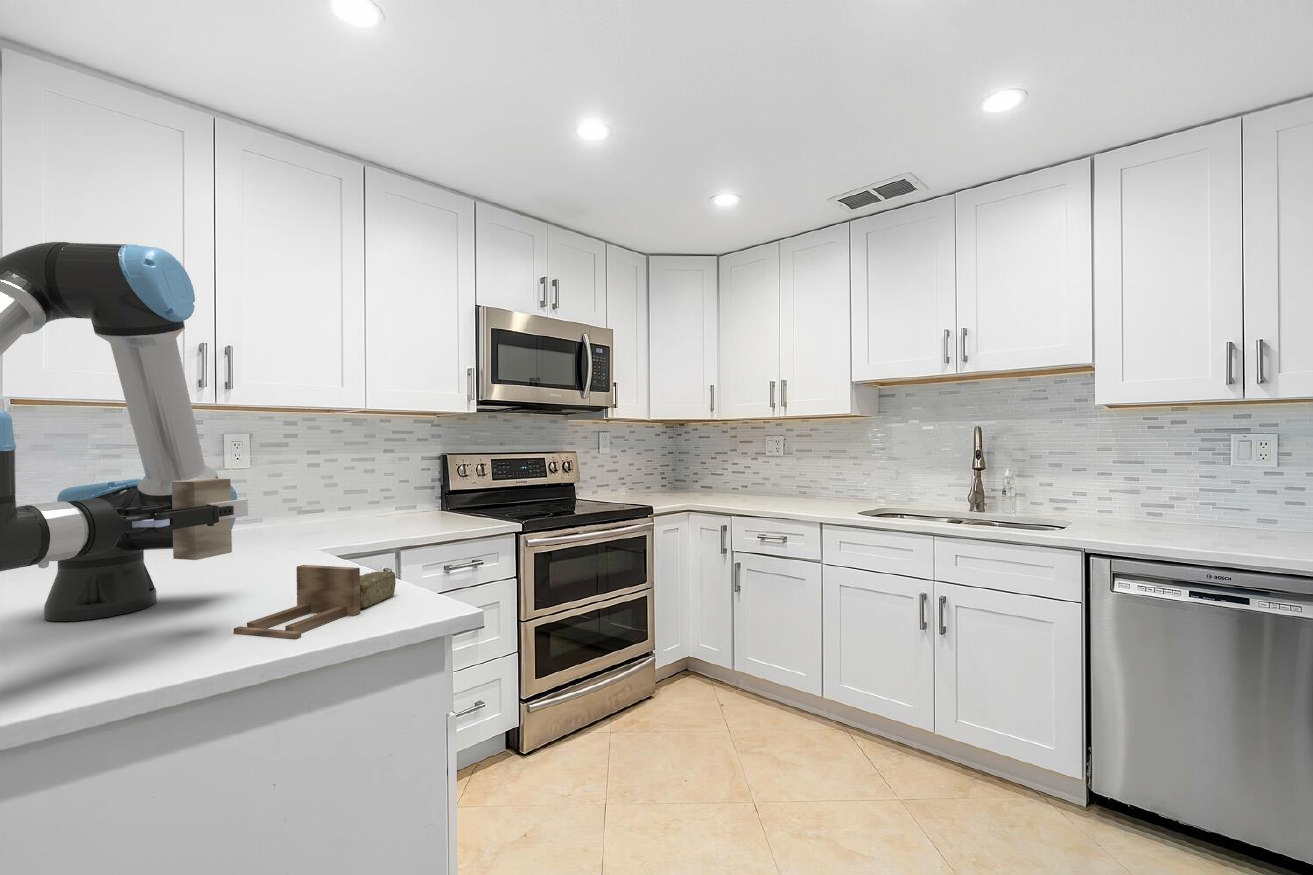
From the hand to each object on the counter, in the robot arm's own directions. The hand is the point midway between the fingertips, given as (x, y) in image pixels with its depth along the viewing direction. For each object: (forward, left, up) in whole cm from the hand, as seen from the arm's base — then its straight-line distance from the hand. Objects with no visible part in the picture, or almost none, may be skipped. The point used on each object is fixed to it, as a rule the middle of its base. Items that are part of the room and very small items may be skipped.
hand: (233, 506), depth 103 cm
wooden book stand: (+11, +3, -19) cm, 23 cm away
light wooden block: (0, -5, -7) cm, 9 cm away
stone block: (+13, +16, -20) cm, 28 cm away
